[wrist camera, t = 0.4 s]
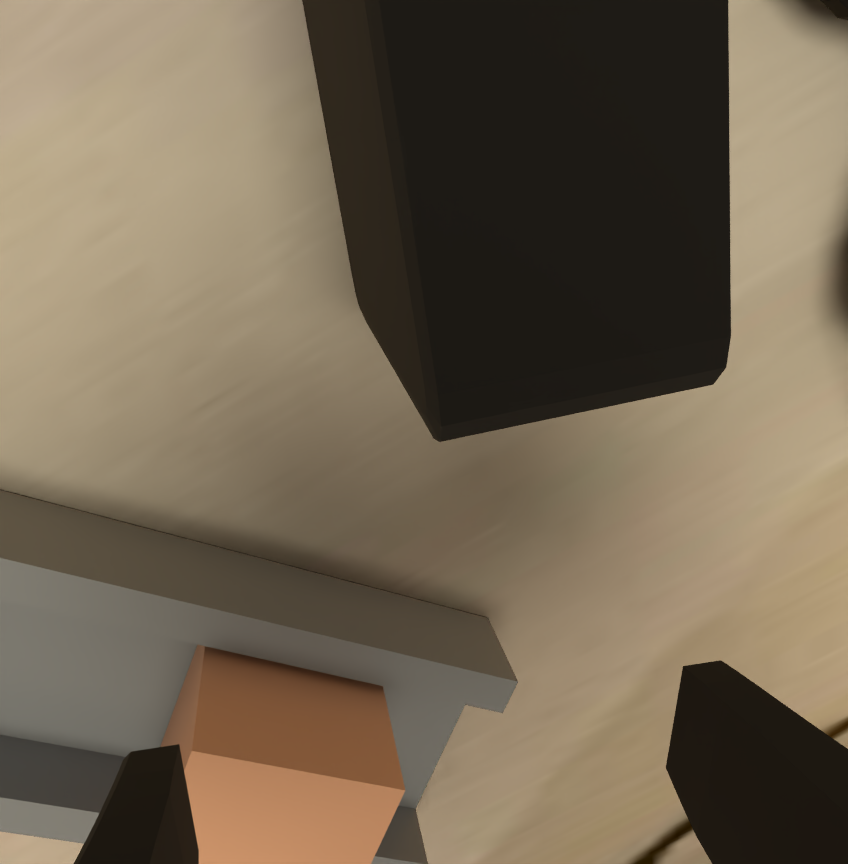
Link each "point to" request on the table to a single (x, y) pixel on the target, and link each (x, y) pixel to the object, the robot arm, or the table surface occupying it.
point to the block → (284, 762)
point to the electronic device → (532, 197)
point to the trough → (174, 649)
